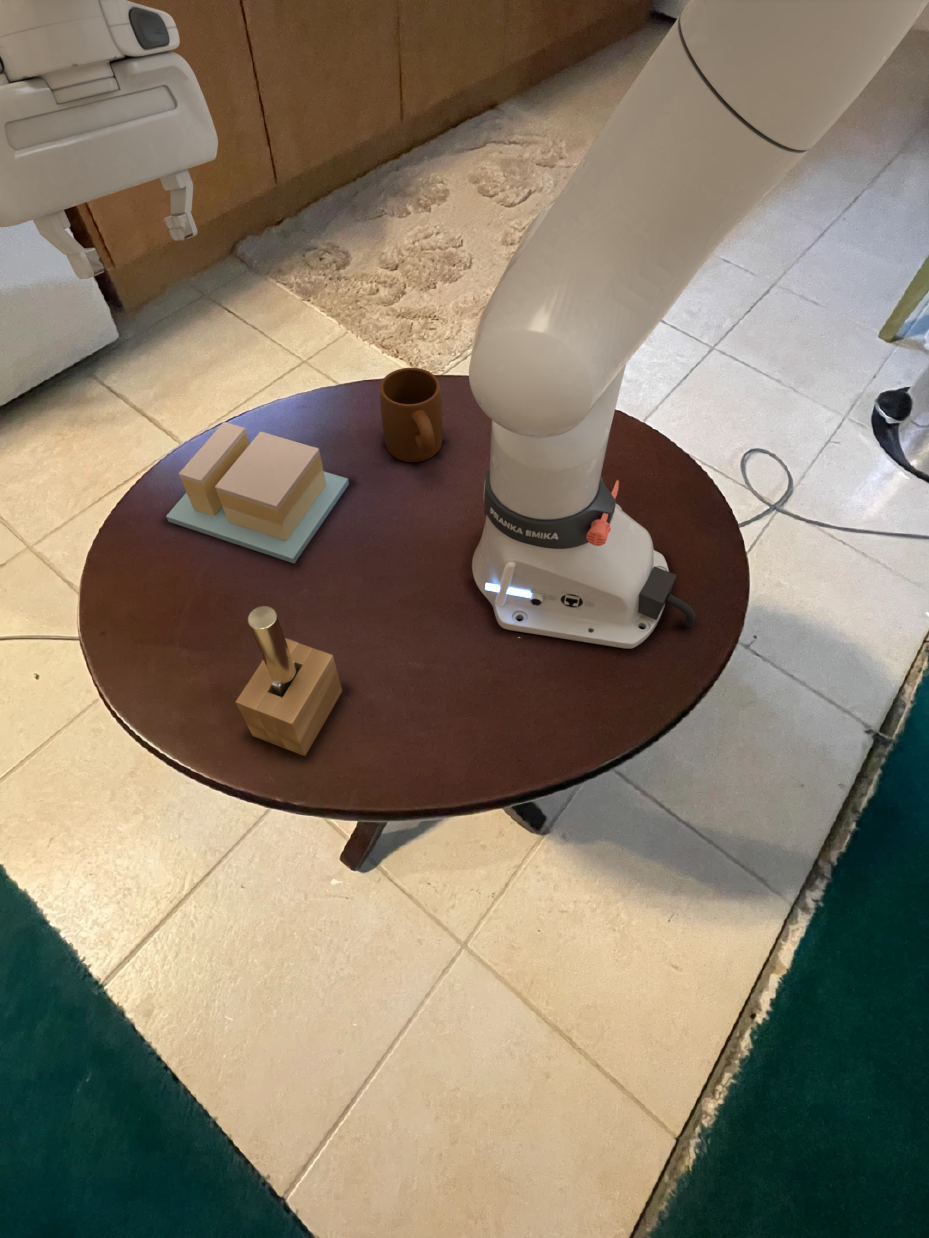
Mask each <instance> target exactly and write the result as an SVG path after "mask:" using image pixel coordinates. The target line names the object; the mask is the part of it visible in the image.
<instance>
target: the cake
mask: <svg viewBox="0 0 929 1238" xmlns="http://www.w3.org/2000/svg"><path fill="white" fill-rule="evenodd" d="M249 443H250V445H249V446H248V447H247V448H246V450H245V451H244V452H243V453H242V454H241V456H240V457H239V458H238V459H237V460H236V462H235V463H234V464H233V465H232V467H231V468H230V469H229V470H228V471H227V473H226V474H225V475H224V476H223V477H222V479H221V480H220V481H219V482H218V484H217V485H216V486H215V488H216V490H217V493H218V496H219V499H220V501H221V504H222V507H221V509H220V510H219V511H218V512H217V514H216V515H215V516H212V515H209V514H206V513H203V512H200V511H197V510H194V509H193V507H192V504H191V502H190V499H189V497H188V495H187V492H186V491H185V493H184V494H183V495H182V496H181V498H180V499H179V500H178V501H177V502H176V504H175V505H174V506H173V507H172V508H171V509H170V511H169V512H168V513H167V514H166V515H165V519H166V520H167V522H169V523H172V524H174V525H178V526H181V527H183V528H186V529H188V530H192V531H196V532H198V533H201V534H204V535H207V536H210V537H213V538H215V539H219V540H222V541H224V542H228V543H231V544H234V545H236V546H240V547H243V548H246V549H249V550H253V551H255V552H258V553H261V554H264V555H267V556H270V557H273V558H276V559H279V560H282V561H285V562H287V563H291V564H296V563H297V561H298V559H299V558H300V557H301V555H302V554H303V552H304V550H305V549H306V548H307V546H308V545H309V544H310V542H311V540H312V539H313V537H314V536H315V534H316V533H317V532H318V530H319V529H320V527H321V526H322V525H323V523H324V521H325V520H326V518H327V517H328V516H329V514H330V513H331V511H332V510H333V508H334V507H335V506H336V504H337V502H338V501H339V500H340V498H341V497H342V495H344V492H345V491H346V489H347V488H348V486H349V485H350V483H349V482H350V481H349V478H347V477H344V476H340V475H337V474H335V473H331V472H328V471H325V470H324V466H323V461H322V456H321V453H320V448H319V447H315V446H311V445H309V444H304V443H301V442H298V441H294V440H291V439H289V438H285V437H281V436H277V435H274V434H271V433H268V432H264V431H259V433H258V434H257V435H256V436H255V437H254V438H253V440H252V441H251V442H249Z"/></svg>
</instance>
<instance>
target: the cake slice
mask: <svg viewBox="0 0 929 1238" xmlns="http://www.w3.org/2000/svg"><path fill="white" fill-rule="evenodd" d="M250 443H251V442H250V441H249V437H248V434H247V430H246V427H243V426H240V425H236V424H234V423H230V422H227V421H223V422H222V423H221V424H220V425H219V426H218V428H217V429H215V431H214V432H213V433H212V435H210V437H209V438H208V439H207V440H206V441H205V443H204V444H202V446H201V447H200V448H199V449H198V450H197V452H195V454H194V455H192V457H191V459H190V460H189V461H188V462H187V463H186V464H185V466H183V468H182V469H181V470H179V472H178V476H179V478H180V480H181V482H182V486H183V487H184V490H185V493H186V492H187V495H188V497H189V499H190V502H191V504H192V507H193V509H194V510H197V511H200V512H203V513H206V514H209V515H212V516H215V515H216V514H217V512H218V511H219V510H220V509H221V507H222V504H221V501H220V499H219V496H218V493H217V490H216V488H215V486H216V485H217V484H218V482H219V481H220V480H221V479H222V477H223V476H224V475H225V474H226V473H227V471H228V470H229V469H230V468H231V467H232V465H233V464H234V463H235V462H236V460H237V459H238V458H239V457H240V456H241V454H242V453H243V452H244V451H245V450H246V448H247V447H248V446H249V445H250Z"/></svg>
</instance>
